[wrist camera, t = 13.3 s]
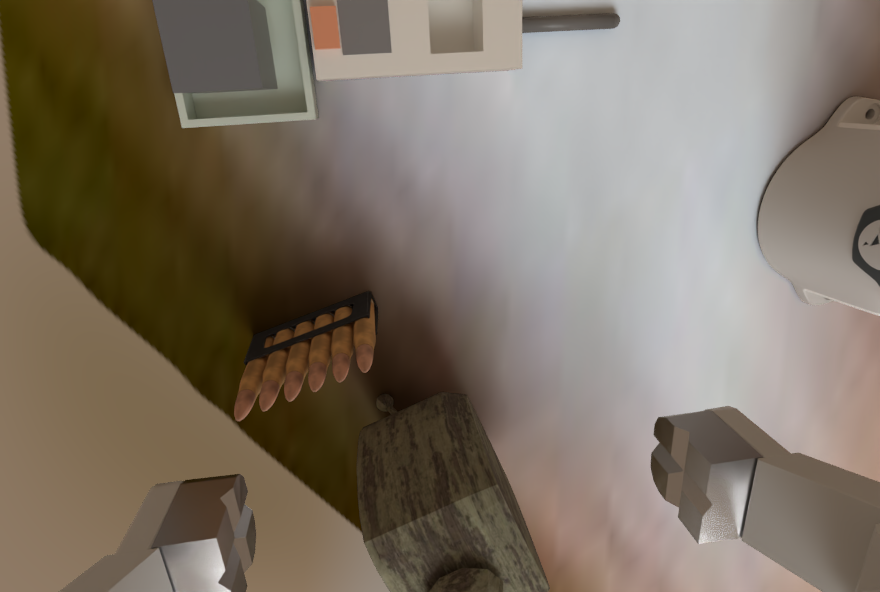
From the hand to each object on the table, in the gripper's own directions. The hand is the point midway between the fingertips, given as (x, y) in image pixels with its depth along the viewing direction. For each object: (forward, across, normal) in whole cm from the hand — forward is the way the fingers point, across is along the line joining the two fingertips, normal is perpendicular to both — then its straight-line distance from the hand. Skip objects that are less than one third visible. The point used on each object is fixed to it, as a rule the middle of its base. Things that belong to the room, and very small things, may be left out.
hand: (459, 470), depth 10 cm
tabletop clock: (+34, -2, +23) cm, 42 cm away
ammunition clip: (+34, +7, +11) cm, 37 cm away
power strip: (+34, -7, -11) cm, 37 cm away
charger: (+33, +9, -10) cm, 36 cm away
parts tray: (+34, +9, -10) cm, 37 cm away
